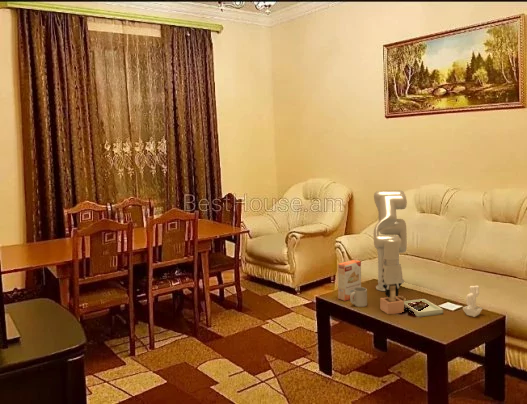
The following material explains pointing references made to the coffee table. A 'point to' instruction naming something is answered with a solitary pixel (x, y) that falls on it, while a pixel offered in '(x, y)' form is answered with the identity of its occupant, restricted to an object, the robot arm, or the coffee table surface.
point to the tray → (427, 311)
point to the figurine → (472, 302)
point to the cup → (359, 297)
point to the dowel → (392, 293)
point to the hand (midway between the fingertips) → (391, 295)
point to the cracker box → (348, 278)
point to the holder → (391, 306)
